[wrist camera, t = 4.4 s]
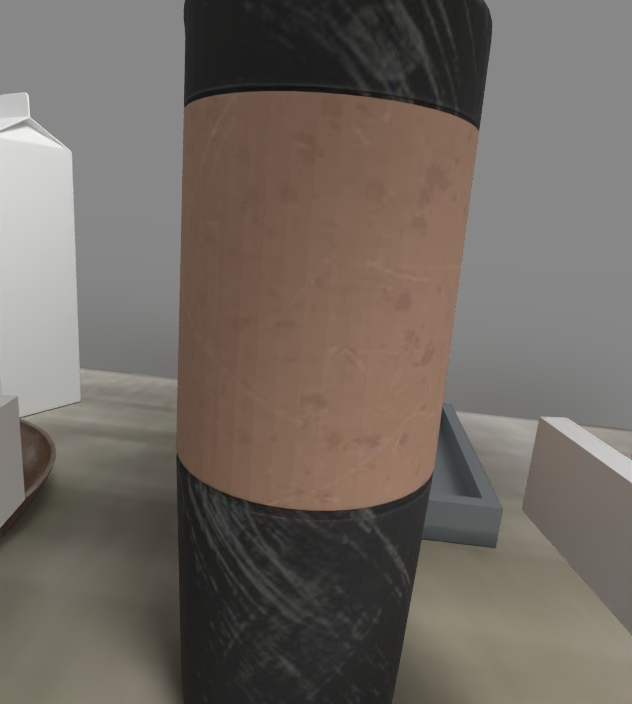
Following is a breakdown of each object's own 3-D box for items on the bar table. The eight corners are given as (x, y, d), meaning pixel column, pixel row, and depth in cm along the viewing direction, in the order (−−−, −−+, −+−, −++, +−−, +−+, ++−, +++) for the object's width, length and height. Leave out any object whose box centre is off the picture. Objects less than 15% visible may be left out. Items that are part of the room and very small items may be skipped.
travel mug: (447, 697, 17) (560, 35, 12) (258, 863, 12) (324, -118, 8) (305, 572, 23) (345, 83, 18) (136, 654, 18) (129, 13, 13)
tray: (447, 429, 41) (451, 404, 40) (495, 547, 26) (502, 508, 25) (255, 409, 42) (256, 384, 42) (194, 510, 27) (195, 472, 26)
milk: (4, 423, 36) (-24, 78, 30) (-39, 402, 39) (-71, 85, 34) (83, 401, 41) (71, 102, 36) (40, 384, 44) (23, 106, 39)
